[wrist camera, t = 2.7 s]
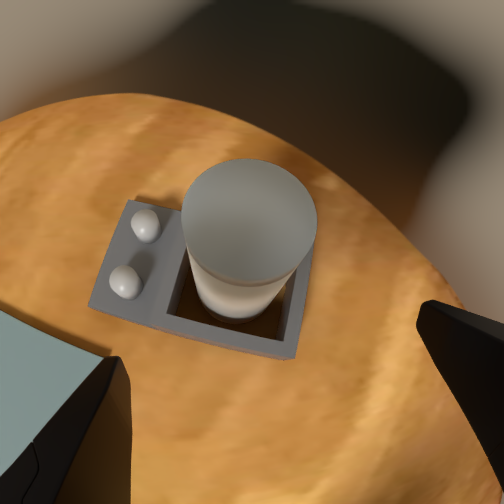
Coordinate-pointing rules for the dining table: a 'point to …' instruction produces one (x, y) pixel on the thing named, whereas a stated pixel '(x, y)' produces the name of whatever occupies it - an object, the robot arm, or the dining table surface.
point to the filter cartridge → (245, 235)
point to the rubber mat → (34, 382)
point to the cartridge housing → (179, 284)
